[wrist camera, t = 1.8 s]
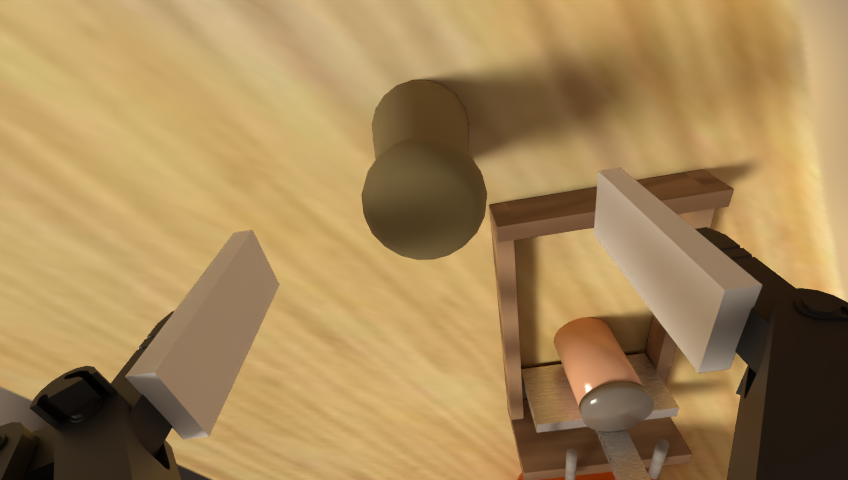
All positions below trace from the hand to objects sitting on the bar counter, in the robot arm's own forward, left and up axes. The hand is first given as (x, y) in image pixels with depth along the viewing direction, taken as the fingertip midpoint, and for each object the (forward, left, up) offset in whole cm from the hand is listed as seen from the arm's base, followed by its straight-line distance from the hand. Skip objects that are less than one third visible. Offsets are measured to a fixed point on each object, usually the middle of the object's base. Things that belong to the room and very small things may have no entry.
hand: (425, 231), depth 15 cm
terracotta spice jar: (+21, +11, -11) cm, 26 cm away
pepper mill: (0, 0, -11) cm, 11 cm away
